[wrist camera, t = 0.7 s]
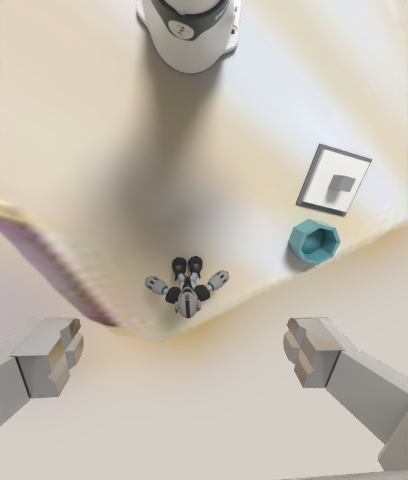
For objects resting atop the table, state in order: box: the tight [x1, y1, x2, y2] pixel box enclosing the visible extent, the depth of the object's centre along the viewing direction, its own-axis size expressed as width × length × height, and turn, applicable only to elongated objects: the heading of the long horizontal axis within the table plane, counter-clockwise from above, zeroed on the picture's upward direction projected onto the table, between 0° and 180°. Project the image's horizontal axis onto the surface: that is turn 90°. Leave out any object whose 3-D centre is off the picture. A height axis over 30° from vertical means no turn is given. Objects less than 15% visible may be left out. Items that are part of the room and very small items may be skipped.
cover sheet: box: [302, 149, 370, 212], centre depth 48 cm, size 12×12×4 cm
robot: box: [145, 256, 229, 318], centre depth 46 cm, size 20×5×20 cm, turn 93°
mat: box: [296, 144, 372, 216], centre depth 50 cm, size 14×14×1 cm
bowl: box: [288, 219, 341, 264], centre depth 53 cm, size 10×10×5 cm
